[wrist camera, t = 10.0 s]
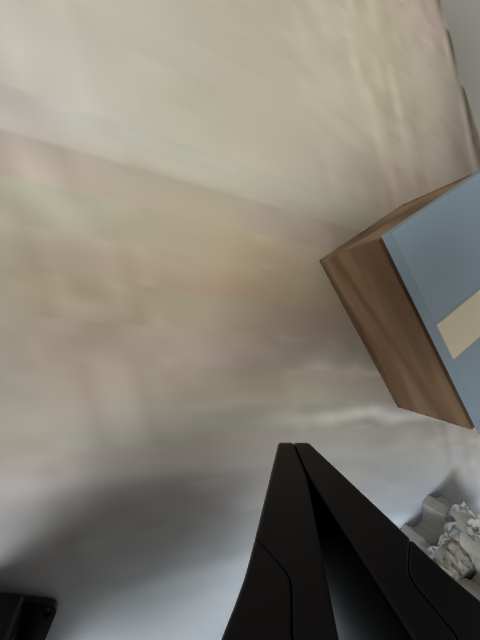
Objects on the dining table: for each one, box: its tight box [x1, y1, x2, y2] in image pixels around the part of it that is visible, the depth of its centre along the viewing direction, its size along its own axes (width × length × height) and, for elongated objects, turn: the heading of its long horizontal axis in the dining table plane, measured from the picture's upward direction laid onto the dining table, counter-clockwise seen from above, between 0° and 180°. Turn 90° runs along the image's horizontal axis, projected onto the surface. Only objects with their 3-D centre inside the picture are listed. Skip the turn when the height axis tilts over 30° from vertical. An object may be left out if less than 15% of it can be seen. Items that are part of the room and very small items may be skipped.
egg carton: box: [400, 495, 480, 601], centre depth 26 cm, size 11×8×4 cm
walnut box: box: [320, 173, 475, 429], centre depth 24 cm, size 10×14×6 cm
